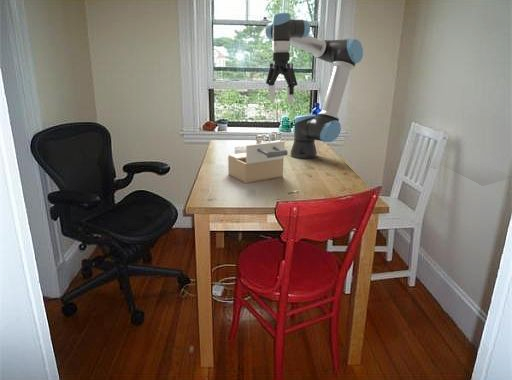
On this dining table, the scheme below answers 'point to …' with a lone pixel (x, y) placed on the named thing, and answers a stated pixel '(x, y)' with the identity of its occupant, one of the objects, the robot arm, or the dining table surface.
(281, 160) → the cabinet
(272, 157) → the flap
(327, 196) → the dining table surface
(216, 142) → the dining table surface
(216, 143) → the dining table surface
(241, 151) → the white cup
